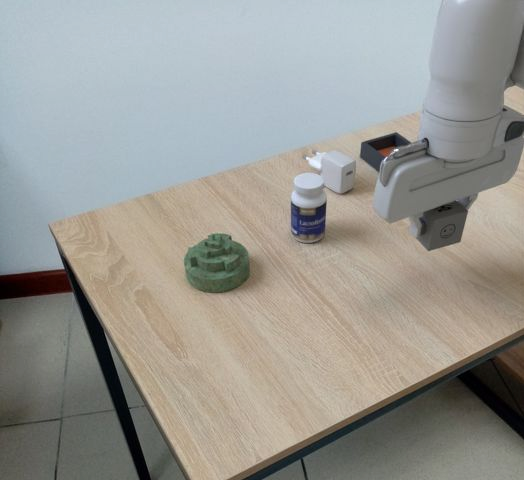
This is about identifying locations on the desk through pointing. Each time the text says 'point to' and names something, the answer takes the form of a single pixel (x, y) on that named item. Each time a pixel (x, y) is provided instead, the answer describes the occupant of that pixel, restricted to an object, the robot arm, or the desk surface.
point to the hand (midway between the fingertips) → (436, 226)
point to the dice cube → (443, 225)
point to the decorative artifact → (217, 264)
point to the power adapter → (334, 169)
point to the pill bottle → (308, 208)
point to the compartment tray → (380, 148)
